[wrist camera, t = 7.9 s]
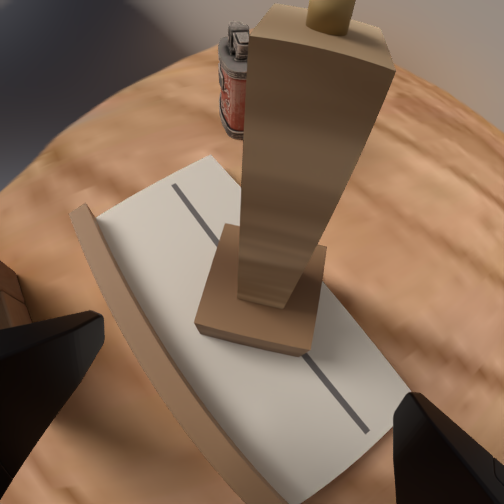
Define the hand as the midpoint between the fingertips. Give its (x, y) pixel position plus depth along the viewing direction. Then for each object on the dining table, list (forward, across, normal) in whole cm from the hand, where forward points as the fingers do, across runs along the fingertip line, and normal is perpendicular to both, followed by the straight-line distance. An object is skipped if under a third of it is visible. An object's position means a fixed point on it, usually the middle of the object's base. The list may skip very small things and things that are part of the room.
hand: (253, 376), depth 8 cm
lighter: (+25, +7, -9) cm, 27 cm away
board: (+11, +2, +5) cm, 12 cm away
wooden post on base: (+11, 0, +3) cm, 11 cm away
